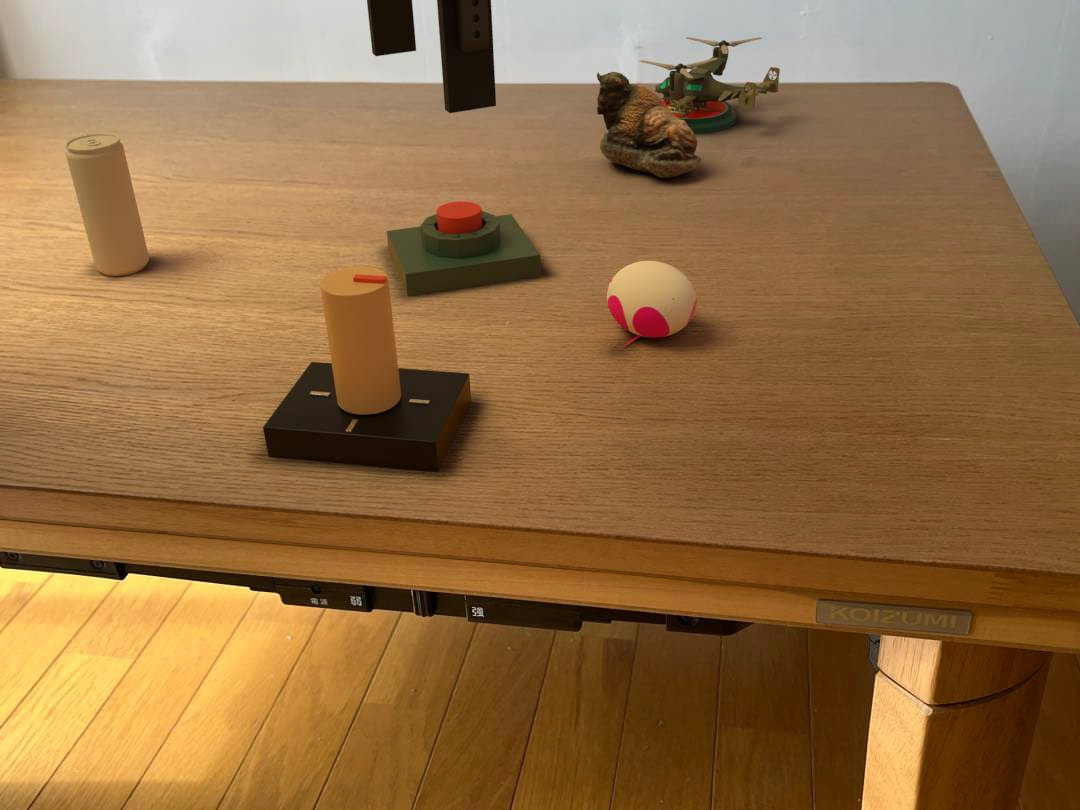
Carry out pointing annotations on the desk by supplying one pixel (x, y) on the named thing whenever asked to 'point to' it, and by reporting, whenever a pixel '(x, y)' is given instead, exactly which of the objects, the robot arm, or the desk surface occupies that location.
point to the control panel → (370, 422)
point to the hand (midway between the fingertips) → (429, 78)
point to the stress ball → (651, 299)
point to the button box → (462, 255)
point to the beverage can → (107, 203)
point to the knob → (361, 339)
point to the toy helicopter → (709, 90)
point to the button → (459, 217)
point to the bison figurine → (643, 130)
